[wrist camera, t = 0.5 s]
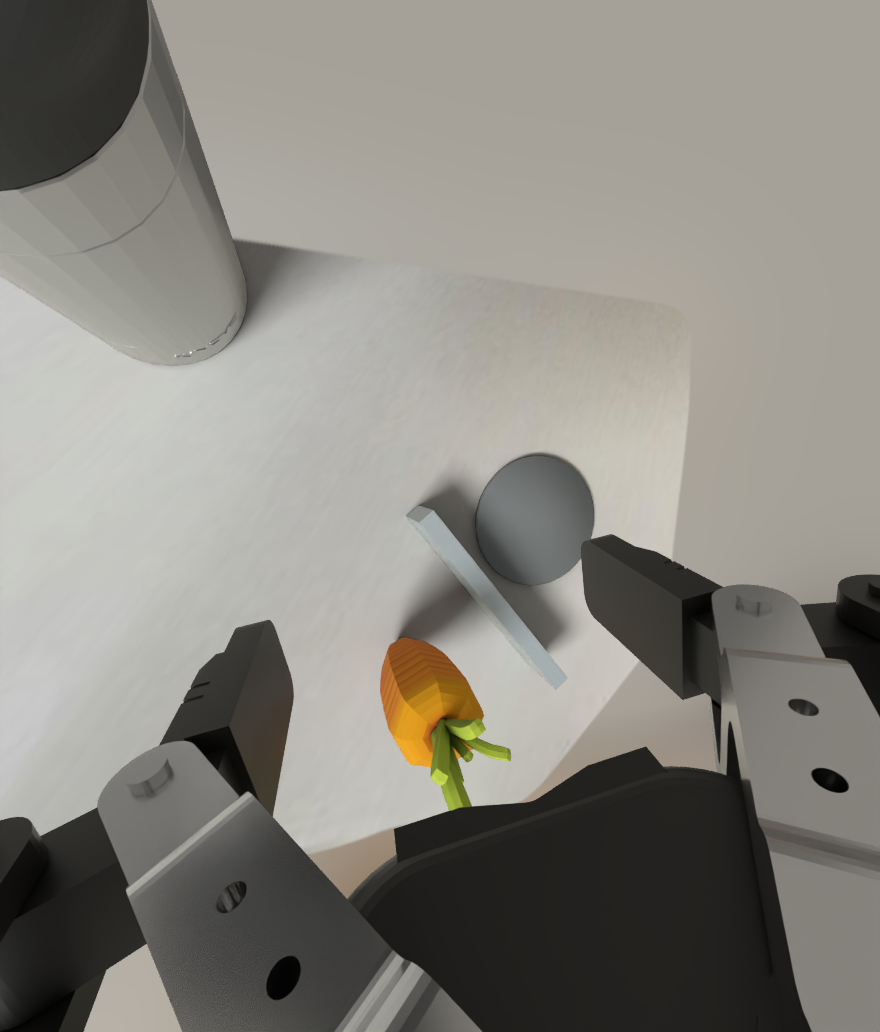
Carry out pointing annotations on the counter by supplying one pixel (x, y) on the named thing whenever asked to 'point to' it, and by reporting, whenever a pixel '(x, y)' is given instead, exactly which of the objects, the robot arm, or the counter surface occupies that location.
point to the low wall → (485, 593)
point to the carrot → (433, 714)
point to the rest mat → (534, 520)
